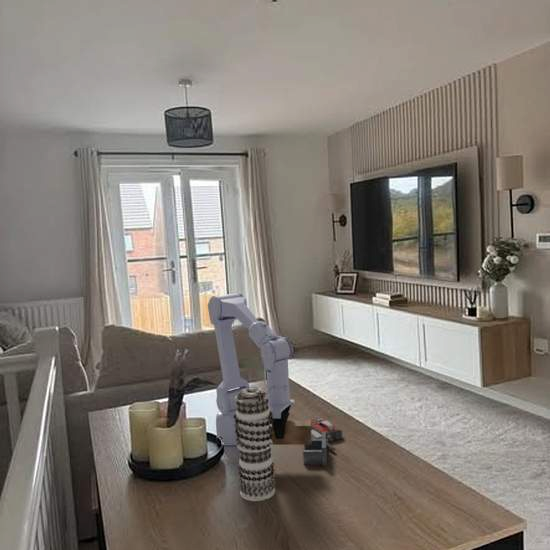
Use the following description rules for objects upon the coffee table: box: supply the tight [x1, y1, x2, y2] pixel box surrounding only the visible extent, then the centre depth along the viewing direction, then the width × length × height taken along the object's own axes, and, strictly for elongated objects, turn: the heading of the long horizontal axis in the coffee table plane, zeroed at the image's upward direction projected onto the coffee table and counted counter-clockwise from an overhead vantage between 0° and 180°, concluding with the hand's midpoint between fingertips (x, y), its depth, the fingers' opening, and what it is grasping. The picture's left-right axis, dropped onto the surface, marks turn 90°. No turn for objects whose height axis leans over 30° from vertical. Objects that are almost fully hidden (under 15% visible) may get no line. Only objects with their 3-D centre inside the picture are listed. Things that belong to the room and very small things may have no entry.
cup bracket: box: [302, 432, 327, 467], centre depth 139 cm, size 6×10×5 cm, turn 175°
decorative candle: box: [233, 386, 276, 502], centre depth 122 cm, size 9×9×25 cm
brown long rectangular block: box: [269, 419, 312, 446], centre depth 135 cm, size 16×4×5 cm, turn 84°
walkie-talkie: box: [310, 417, 343, 451], centre depth 151 cm, size 9×4×20 cm
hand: (280, 435), depth 135 cm, fingers closed on brown long rectangular block, 4 cm apart
